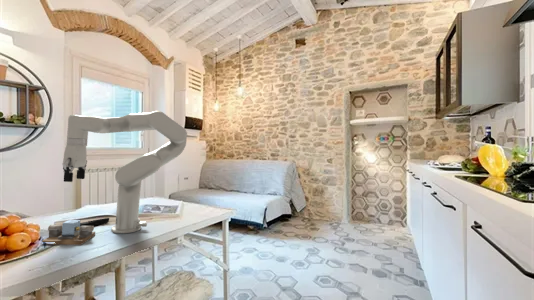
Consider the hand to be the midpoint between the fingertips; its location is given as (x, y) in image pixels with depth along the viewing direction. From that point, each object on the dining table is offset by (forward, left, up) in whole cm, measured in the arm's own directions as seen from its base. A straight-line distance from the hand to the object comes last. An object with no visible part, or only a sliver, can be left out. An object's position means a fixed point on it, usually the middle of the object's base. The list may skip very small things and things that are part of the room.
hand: (74, 180), depth 115 cm
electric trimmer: (-4, -8, -24) cm, 26 cm away
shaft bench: (-5, +10, -23) cm, 26 cm away
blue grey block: (-5, +10, -22) cm, 24 cm away
